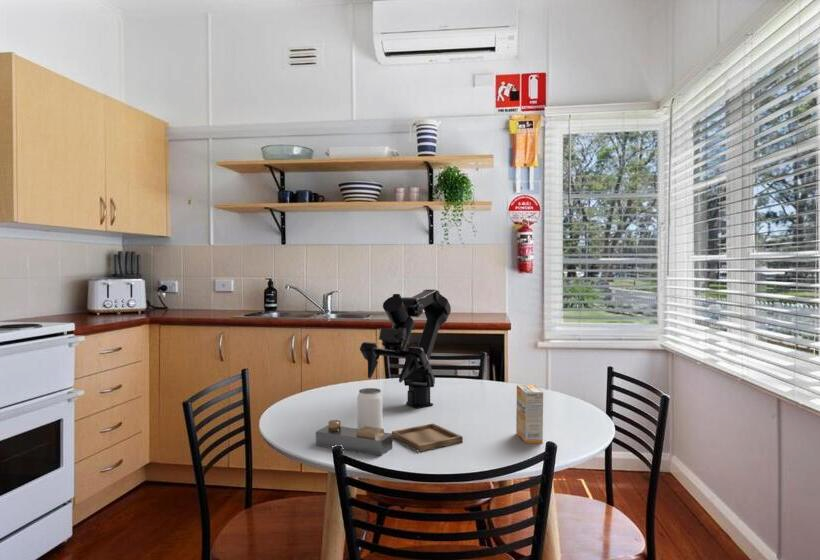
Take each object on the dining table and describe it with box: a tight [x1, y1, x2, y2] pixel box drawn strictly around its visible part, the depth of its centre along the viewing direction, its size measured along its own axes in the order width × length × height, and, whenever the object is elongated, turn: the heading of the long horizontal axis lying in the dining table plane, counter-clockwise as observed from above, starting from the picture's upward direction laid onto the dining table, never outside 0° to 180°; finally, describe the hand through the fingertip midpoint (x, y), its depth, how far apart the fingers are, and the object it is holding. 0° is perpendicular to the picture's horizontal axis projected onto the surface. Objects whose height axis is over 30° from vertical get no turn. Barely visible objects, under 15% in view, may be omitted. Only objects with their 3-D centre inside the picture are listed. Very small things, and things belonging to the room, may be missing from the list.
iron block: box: [315, 419, 393, 457], centre depth 130 cm, size 18×6×6 cm, turn 67°
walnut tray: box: [391, 423, 464, 453], centre depth 136 cm, size 13×13×2 cm
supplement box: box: [515, 384, 544, 444], centre depth 137 cm, size 8×5×13 cm, turn 5°
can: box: [356, 387, 383, 429], centre depth 138 cm, size 6×6×12 cm
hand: (384, 379), depth 146 cm, fingers open, 9 cm apart
